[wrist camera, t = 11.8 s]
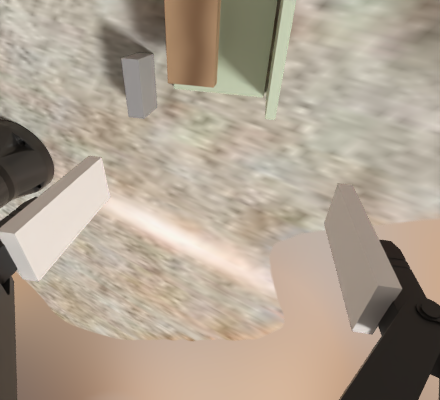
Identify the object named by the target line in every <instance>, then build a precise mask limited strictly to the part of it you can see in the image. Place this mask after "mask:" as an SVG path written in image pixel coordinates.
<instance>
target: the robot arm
mask: <svg viewBox="0 0 440 400" xmlns="http://www.w3.org/2000/svg"><path fill="white" fill-rule="evenodd" d="M53 175H54V165H53V161H52V158H51V156H50V154H49V152H48V151H47V149H46V148H45V146H44V145H43V144H42V142H41V141H40V140H39V139H38V138H37V137H36V136H35V135H33V134H32V133H31V132H30V131H28V130H27V129H25V128H24V127H22V126H20V125H18V124H15V123H13V122H10V121H5V120H0V208H1V207H3V206H4V205H5V204H7V203H8V202H9V201H11V200H12V199H15V198H19V197H22V196H25V195H28V194H32V193H35V192H37V191H39V190H41V189H43V188H44V187H45V186H46V185H48V184H49V183H50V182H51V180H52V178H53ZM109 198H110V193H109V189H108V184H107V179H106V175H105V170H104V166H103V161H102V157H95V156H88V157H87V158H86V159H84V160H83V161H82V162H81V163H79V164H78V165H77V166H76V167H75V168H73V169H72V170H71V171H70V172H68V173H67V174H66V175H65V176H63V177H62V178H61V179H60V180H58V181H57V182H56V183H55V184H54V185H52V186H51V187H50V188H49V189H47V190H46V191H45V192H44V193H42V194H41V195H40V196H39V197H34V198H32V199H30V200H28V201H26V202H24V203H23V204H22V205H20V206H19V207H18V208H16V210H14V211H13V212H11V213H10V214H9V216H6V217H5V218H4V219H2V220H1V221H0V400H17V375H16V340H15V305H14V281H13V278H12V277H11V275H13V274H14V273H15V271H16V270H18V272H19V274H20V276H21V277H22V279H25V280H32V281H38V282H39V281H40V279H41V278H42V277H43V276H44V275H45V274H46V272H47V271H48V270H49V269H50V268H51V266H52V265H53V264H54V263H55V262H56V261H57V259H58V258H59V257H60V256H61V255H62V253H63V252H64V251H65V250H66V249H67V248H68V246H69V245H70V244H71V243H72V242H73V241H74V239H75V238H76V237H77V236H78V235H79V233H80V232H81V231H82V230H83V229H84V228H85V226H86V225H87V224H88V223H89V222H90V220H91V219H92V218H93V217H94V216H95V215H96V213H97V212H98V211H99V210H100V209H101V207H102V206H103V205H104V204H105V203H106V202H107V200H108V199H109ZM324 225H325V229H326V233H327V236H328V240H329V244H330V248H331V252H332V256H333V260H334V264H335V267H336V271H337V275H338V279H339V283H340V287H341V291H342V294H343V299H344V302H345V306H346V310H347V314H348V318H349V321H350V326H351V329H352V331H354V332H360V333H367V334H373V333H374V331H375V330H376V328H377V327H378V326H379V329H380V332H381V335H382V337H381V338H380V340H379V341H378V342H377V344H376V345H375V347H374V348H373V350H372V351H371V353H370V354H369V356H368V357H367V359H366V360H365V362H364V364H363V365H362V366H361V368H360V369H359V371H358V372H357V374H356V375H355V377H354V378H353V380H352V381H351V383H350V384H349V386H348V387H347V389H346V390H345V391H344V393H343V395H342V396H341V397H340V399H339V400H418V399H419V396H420V394H421V392H422V390H423V388H424V386H425V384H426V381H427V379H428V377H429V375H430V374H431V375H433V376H436V377H438V378H439V400H440V306H439V305H438V304H437V303H435V302H434V301H432V300H430V299H427V298H426V296H425V294H424V292H423V290H422V289H421V287H420V285H419V283H418V281H417V279H416V278H415V276H414V274H413V272H412V270H410V267H409V265H408V263H407V262H406V260H405V258H404V256H403V254H402V252H401V250H400V249H399V248H398V247H396V246H395V244H393V243H392V242H391V241H386V240H379V239H378V237H377V235H376V232H375V231H374V228H373V226H372V224H371V222H370V220H369V218H368V216H367V214H366V212H365V209H364V207H363V205H362V203H361V201H360V199H359V197H358V195H357V193H356V191H355V189H354V186H353V185H349V184H340V183H338V184H337V187H336V190H335V193H334V196H333V199H332V202H331V205H330V208H329V211H328V214H327V217H326V220H325V223H324Z"/></svg>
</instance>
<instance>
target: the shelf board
mask: <svg viewBox="0 0 440 400" xmlns="http://www.w3.org/2000/svg"><path fill="white" fill-rule="evenodd" d="M164 6H165V28H166V51H167V73H168V83H171V84H181V85H192V86H202V87H212V88H214V87H215V85H216V84H217V70H218V50H219V30H220V10H221V0H164Z"/></svg>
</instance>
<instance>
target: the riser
mask: <svg viewBox="0 0 440 400" xmlns="http://www.w3.org/2000/svg"><path fill="white" fill-rule="evenodd" d="M121 61H122V69H123V77H124V84H125V92H126V100H127V107H128V115H129V117H134V118H143V119H144V118H145V117H147V116H148V115H149V114H150V113H151V112H152V111H153V110H155V109H156V108H157V96H156V82H155V68H154V54H150V53H135V54H132V55H129V56H126V57H123V58H121Z"/></svg>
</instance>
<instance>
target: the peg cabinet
mask: <svg viewBox="0 0 440 400" xmlns="http://www.w3.org/2000/svg"><path fill="white" fill-rule="evenodd" d="M295 4H296V0H281V1H280V8H279V15H278V21H277V28H276V35H275V41H274V48H273V55H272V61H271V68H270V75H269V81H268V88H267V95H266V112H265V119H270V120H275V117H276V112H277V106H278V100H279V95H280V89H281V83H282V78H283V72H284V66H285V61H286V55H287V49H288V44H289V38H290V32H291V27H292V21H293V15H294V10H295ZM276 7H277V0H221V10H220V30H219V50H218V70H217V84H216V85H215V87H214V88H212V87H202V86H192V85H181V84H174V89H182V90H192V91H202V92H212V93H222V94H232V95H242V96H252V97H262V98H263V97H264V90H265V83H266V76H267V69H268V62H269V55H270V49H271V42H272V35H273V28H274V21H275V14H276Z"/></svg>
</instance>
